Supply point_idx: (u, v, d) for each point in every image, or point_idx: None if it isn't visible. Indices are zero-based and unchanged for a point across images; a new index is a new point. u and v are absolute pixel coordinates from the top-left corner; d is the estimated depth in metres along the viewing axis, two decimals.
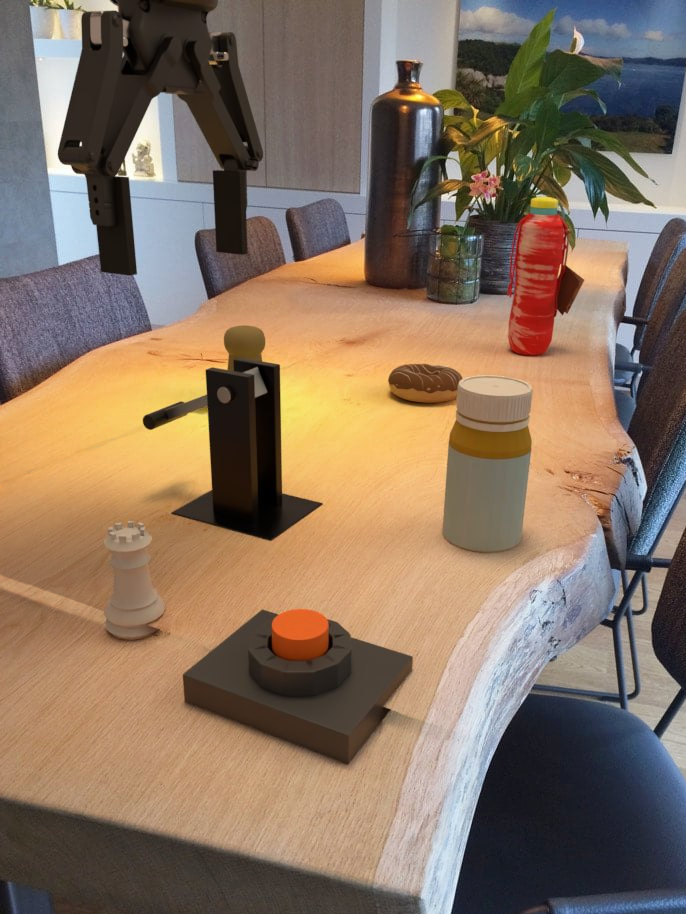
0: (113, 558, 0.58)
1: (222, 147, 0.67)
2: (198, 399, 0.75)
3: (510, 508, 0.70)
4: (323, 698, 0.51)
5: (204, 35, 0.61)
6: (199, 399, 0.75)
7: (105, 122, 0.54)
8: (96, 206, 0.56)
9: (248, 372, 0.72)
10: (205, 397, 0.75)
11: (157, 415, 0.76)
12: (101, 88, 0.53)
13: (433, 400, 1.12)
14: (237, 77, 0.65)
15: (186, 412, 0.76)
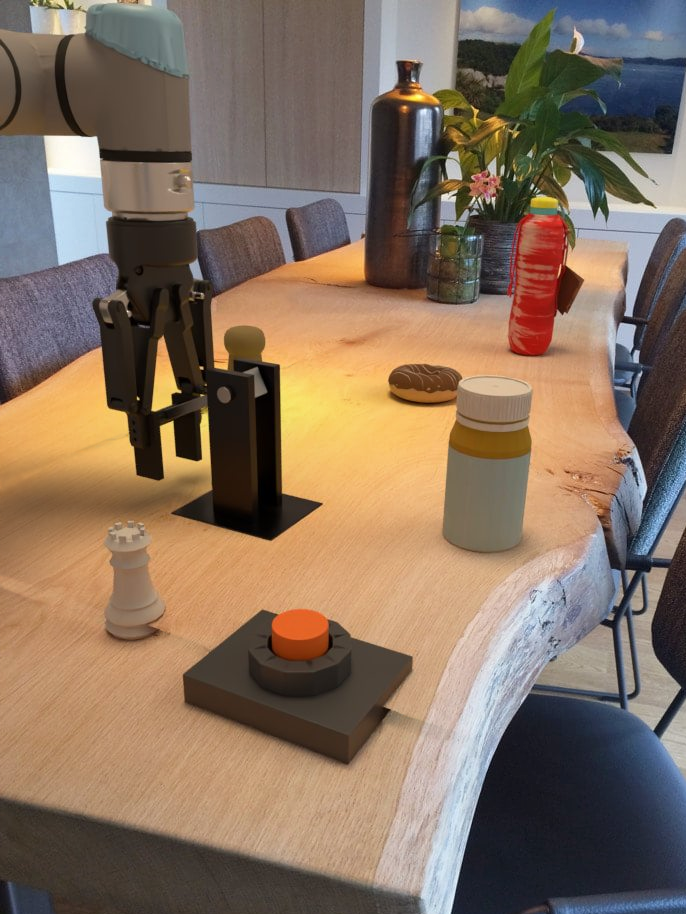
0: (113, 558, 0.58)
1: (182, 371, 0.79)
2: (198, 399, 0.75)
3: (510, 508, 0.70)
4: (323, 698, 0.51)
5: (188, 275, 0.75)
6: (199, 399, 0.75)
7: (134, 377, 0.71)
8: (134, 435, 0.75)
9: (248, 372, 0.72)
10: (205, 397, 0.75)
11: None
12: (124, 360, 0.70)
13: (433, 400, 1.12)
14: (207, 314, 0.79)
15: (186, 412, 0.76)
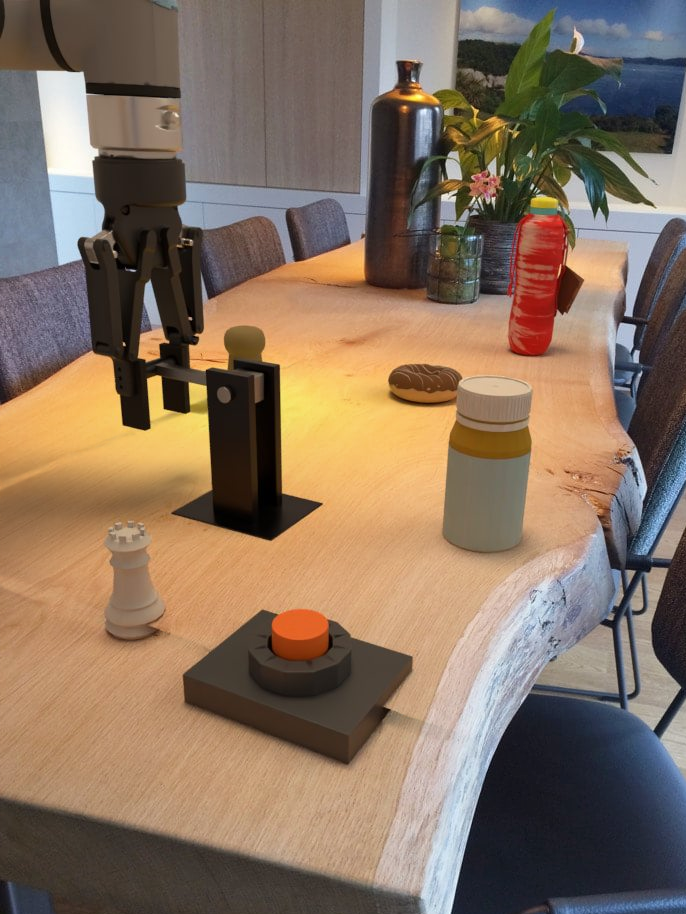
0: (113, 558, 0.58)
1: (170, 320, 0.77)
2: (194, 374, 0.74)
3: (510, 508, 0.70)
4: (323, 698, 0.51)
5: (177, 219, 0.74)
6: (195, 375, 0.74)
7: (120, 321, 0.70)
8: (120, 382, 0.73)
9: (254, 379, 0.72)
10: (202, 376, 0.74)
11: (147, 369, 0.75)
12: (110, 302, 0.68)
13: (433, 400, 1.12)
14: (196, 261, 0.77)
15: (177, 378, 0.75)
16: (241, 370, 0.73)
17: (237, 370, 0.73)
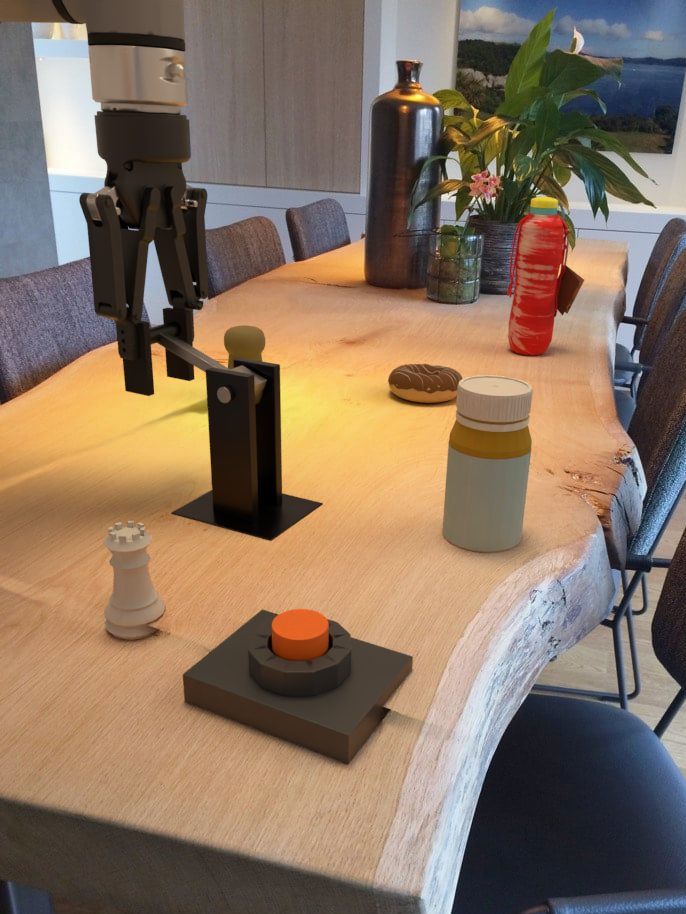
0: (113, 558, 0.58)
1: (174, 283, 0.76)
2: (197, 357, 0.73)
3: (510, 508, 0.70)
4: (323, 698, 0.51)
5: (181, 179, 0.72)
6: (197, 358, 0.73)
7: (123, 281, 0.68)
8: (123, 345, 0.72)
9: (256, 385, 0.72)
10: (204, 363, 0.73)
11: (150, 338, 0.74)
12: (113, 260, 0.67)
13: (433, 400, 1.12)
14: (200, 224, 0.75)
15: (178, 354, 0.74)
16: (245, 369, 0.73)
17: (241, 368, 0.73)
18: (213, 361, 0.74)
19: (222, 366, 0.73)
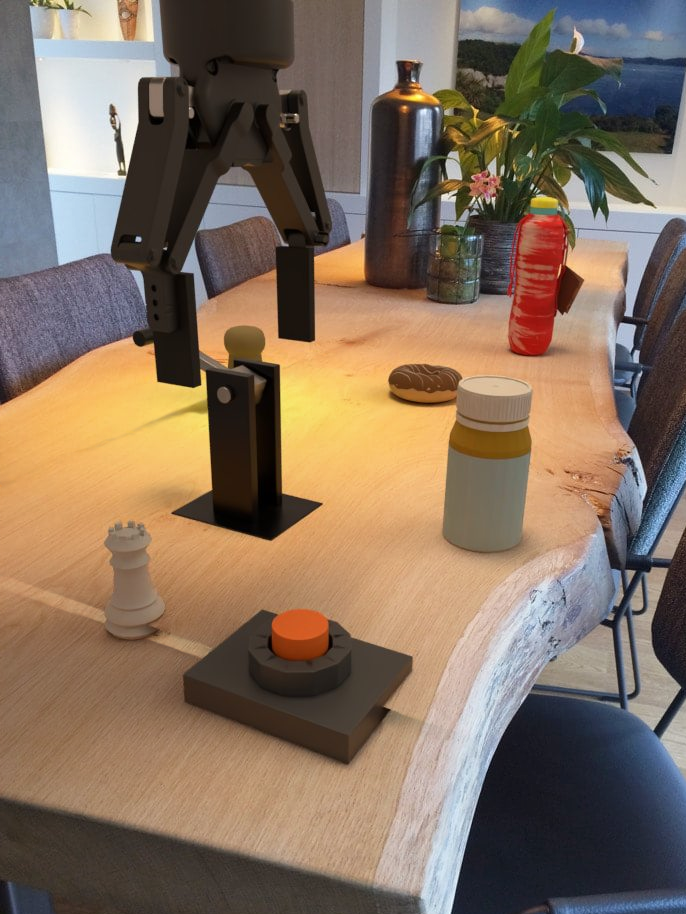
0: (113, 558, 0.58)
1: (288, 221, 0.57)
2: None
3: (510, 508, 0.70)
4: (323, 698, 0.51)
5: (274, 96, 0.51)
6: None
7: (168, 211, 0.44)
8: (155, 309, 0.46)
9: (256, 385, 0.72)
10: (204, 362, 0.73)
11: (150, 337, 0.73)
12: (164, 171, 0.43)
13: (433, 400, 1.12)
14: (307, 141, 0.55)
15: None
16: (245, 369, 0.73)
17: (241, 368, 0.73)
18: (213, 361, 0.74)
19: (222, 366, 0.73)
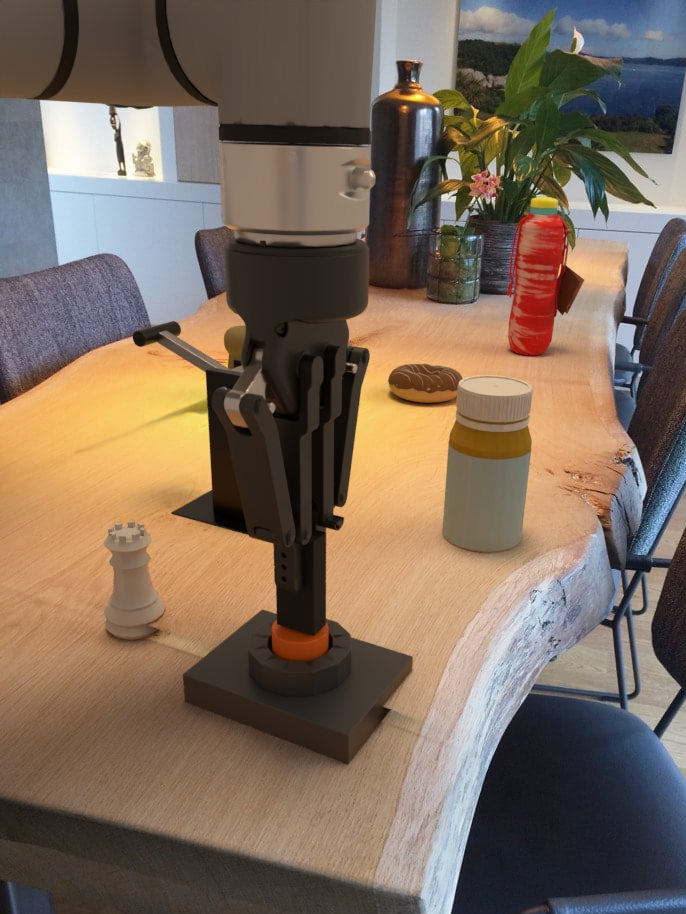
0: (113, 558, 0.58)
1: None
2: (197, 357, 0.73)
3: (510, 508, 0.70)
4: (323, 698, 0.51)
5: (345, 330, 0.47)
6: (197, 358, 0.73)
7: (287, 496, 0.45)
8: (283, 572, 0.49)
9: None
10: (204, 362, 0.73)
11: (150, 337, 0.73)
12: (273, 479, 0.43)
13: (433, 400, 1.12)
14: (355, 398, 0.50)
15: (178, 354, 0.74)
16: None
17: (241, 368, 0.73)
18: (213, 361, 0.74)
19: (222, 366, 0.73)
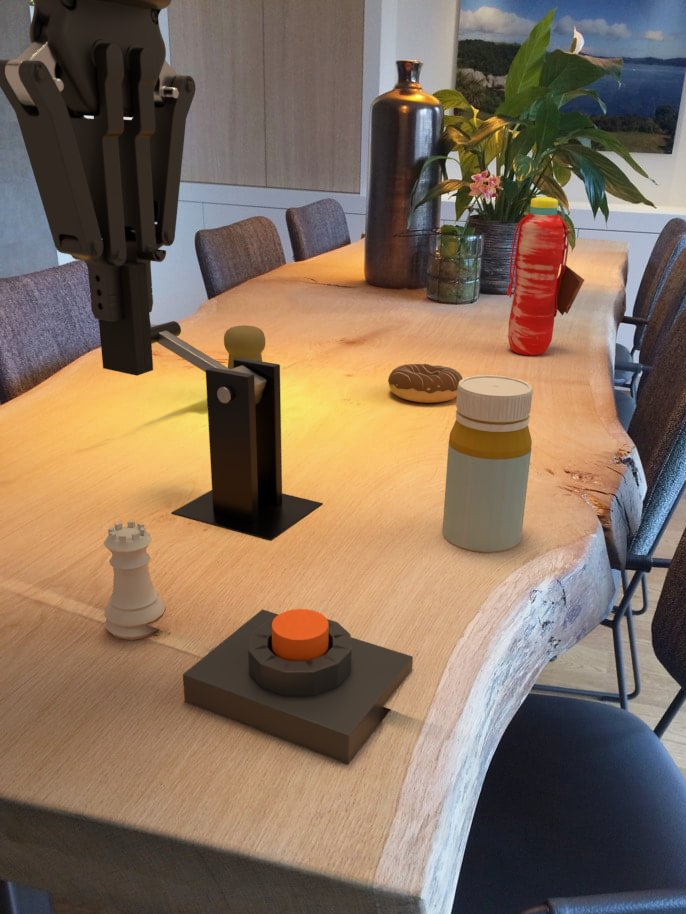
0: (113, 558, 0.58)
1: (125, 214, 0.48)
2: (197, 357, 0.73)
3: (510, 508, 0.70)
4: (323, 698, 0.51)
5: (159, 42, 0.46)
6: (197, 358, 0.73)
7: (88, 197, 0.44)
8: (99, 299, 0.48)
9: (256, 385, 0.72)
10: (204, 362, 0.73)
11: None
12: (66, 168, 0.42)
13: (433, 400, 1.12)
14: (178, 127, 0.49)
15: (178, 354, 0.74)
16: (245, 369, 0.73)
17: (241, 368, 0.73)
18: (213, 361, 0.74)
19: (222, 366, 0.73)
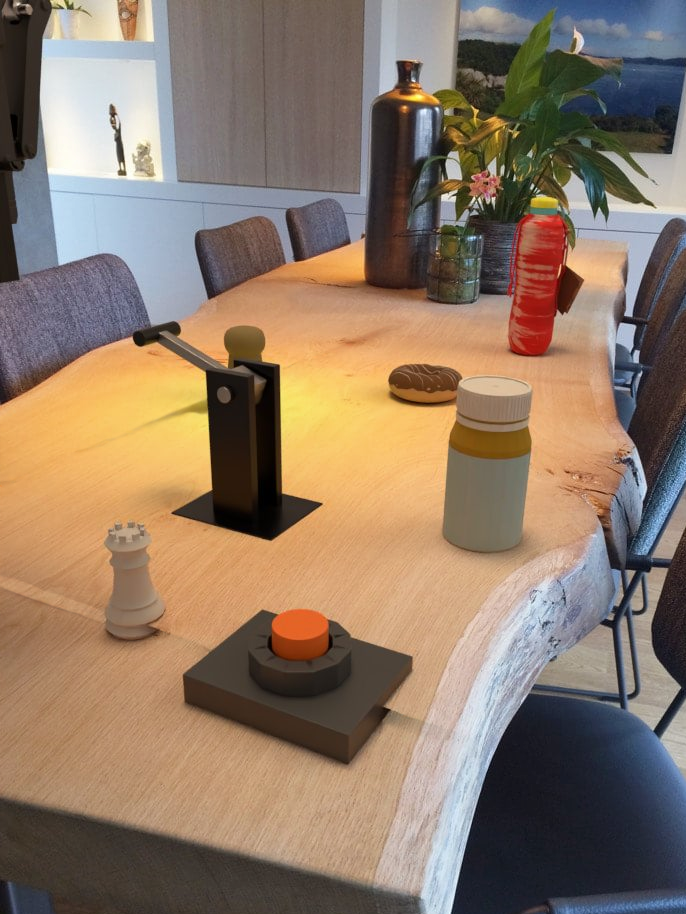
0: (113, 558, 0.58)
1: None
2: (197, 357, 0.73)
3: (510, 508, 0.70)
4: (323, 698, 0.51)
5: None
6: (197, 358, 0.73)
7: None
8: None
9: (256, 385, 0.72)
10: (204, 362, 0.73)
11: (150, 337, 0.73)
12: None
13: (433, 400, 1.12)
14: (34, 44, 0.51)
15: (178, 354, 0.74)
16: (245, 369, 0.73)
17: (241, 368, 0.73)
18: (213, 361, 0.74)
19: (222, 366, 0.73)
